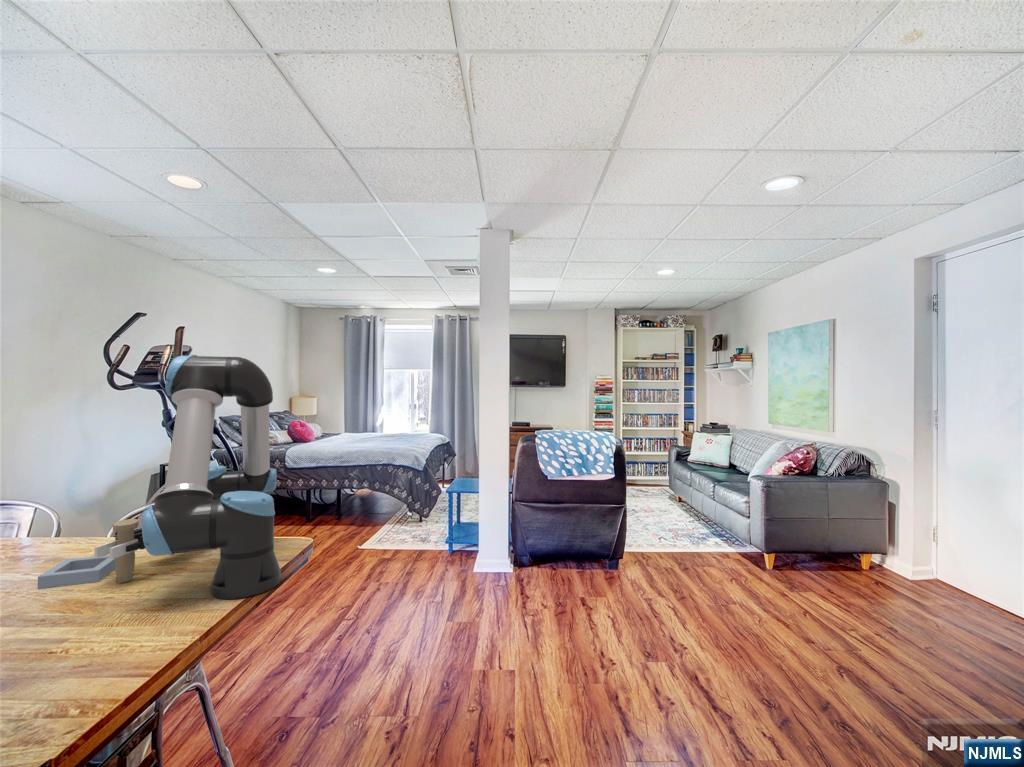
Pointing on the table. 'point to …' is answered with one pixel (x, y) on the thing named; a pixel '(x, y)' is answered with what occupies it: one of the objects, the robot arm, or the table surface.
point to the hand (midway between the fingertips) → (103, 553)
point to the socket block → (77, 572)
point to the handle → (127, 561)
